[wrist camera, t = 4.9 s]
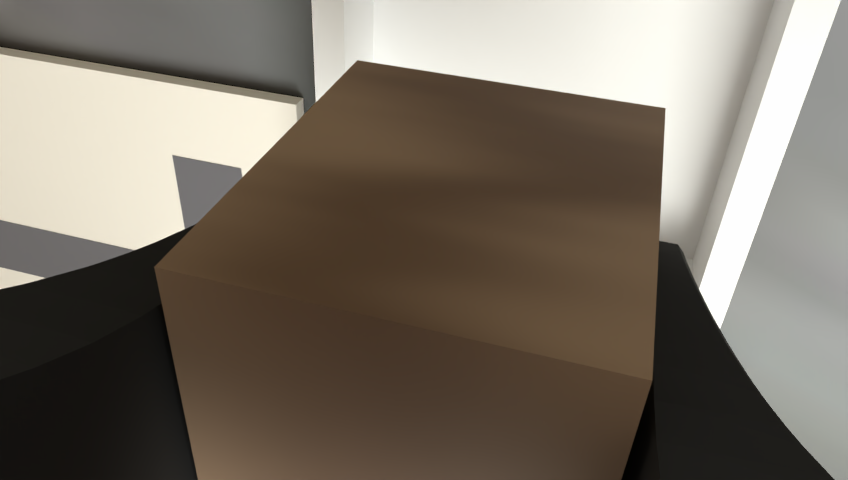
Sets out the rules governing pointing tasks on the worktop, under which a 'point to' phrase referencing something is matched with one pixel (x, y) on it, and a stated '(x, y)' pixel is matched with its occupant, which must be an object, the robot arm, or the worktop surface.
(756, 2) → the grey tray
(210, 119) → the letter board
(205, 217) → the walnut block
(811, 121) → the worktop surface
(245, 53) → the worktop surface
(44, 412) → the robot arm
